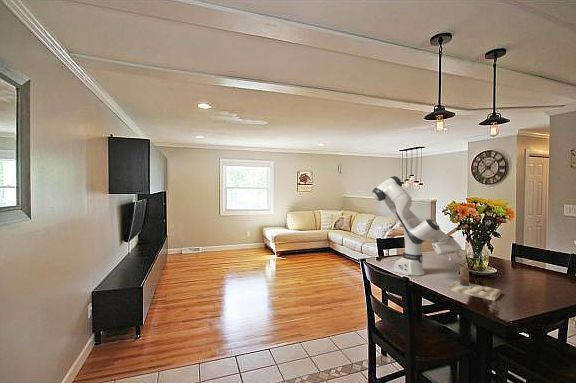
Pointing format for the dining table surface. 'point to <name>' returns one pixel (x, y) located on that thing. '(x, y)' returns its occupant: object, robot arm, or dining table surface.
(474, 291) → the puzzle board
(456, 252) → the robot arm
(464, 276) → the wooden cylinder
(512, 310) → the dining table surface
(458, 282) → the felt pad
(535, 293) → the dining table surface
